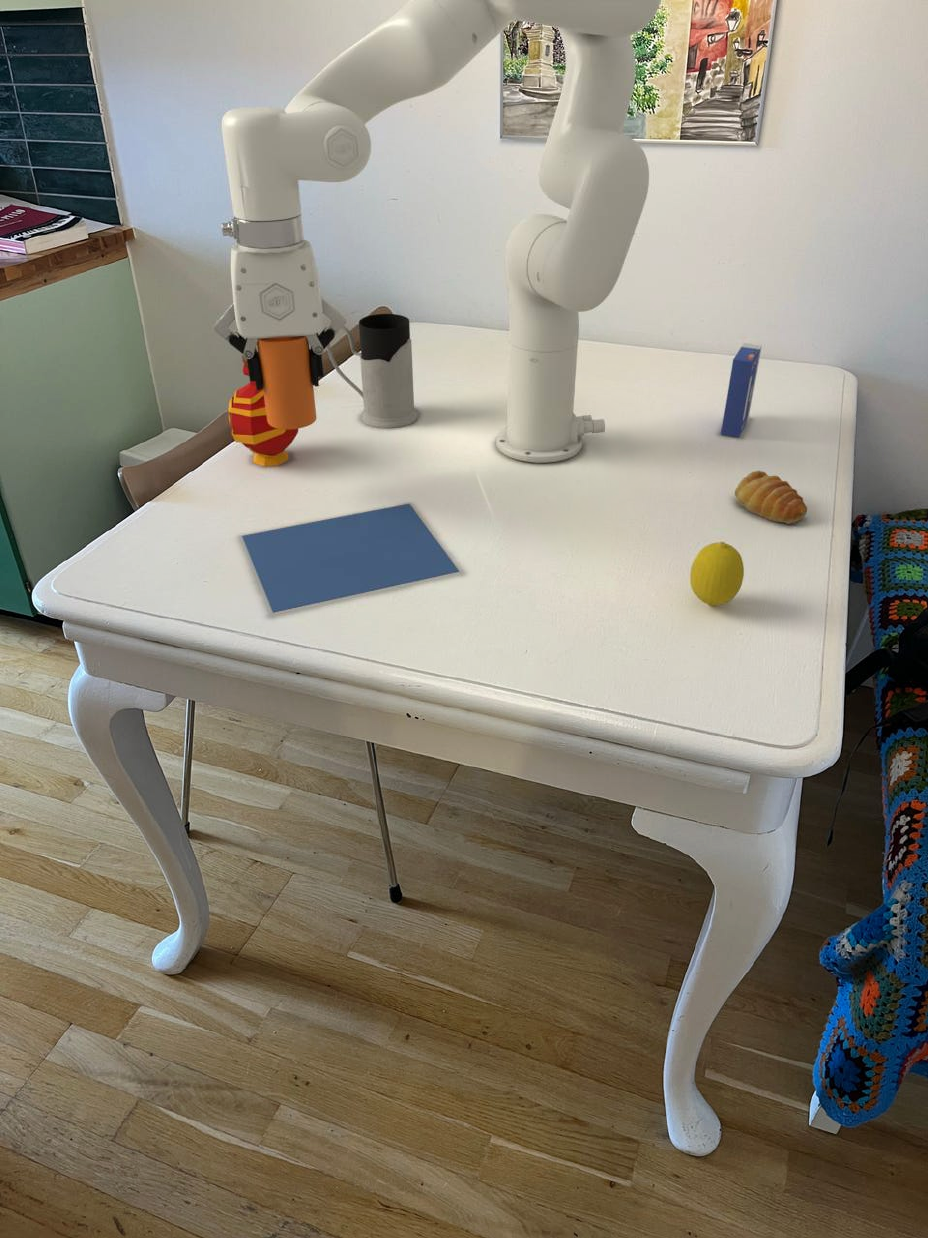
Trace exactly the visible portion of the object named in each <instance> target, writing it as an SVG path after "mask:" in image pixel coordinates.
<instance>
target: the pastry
mask: <svg viewBox="0 0 928 1238" xmlns="http://www.w3.org/2000/svg"><path fill="white" fill-rule="evenodd" d="M734 497H735V499H736V500H737V502H738V503H739V506H743V507H744V508H745V509H746V511H749V512H751V513H752V514H755V515H758V516H760V518H765V519H766V520H769V521H771V522H776V523H784V524H788V525H789V524H794V523H796V522H798V521H802V520H803V519H804V517H805V516H806V514H807V513H808V506H807V505H806V503H805V501H804V498H803V497H802V496H801V495H800V494H799V493H798V491H797V489H795V488H793V487H792V486H791V485H790V484H789V482H788V481H787V480H782V479H781V478H780V476H778V475H768V474H767V472H766V471H761V470H755V471H752V472H750V473H749V474H747V475H746V476H745V477H743V478H742V479H741V480H740V482H739V483H738V485H737V486H736V488H735V489H734Z"/></svg>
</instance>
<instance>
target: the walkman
mask: <svg viewBox="0 0 928 1238" xmlns="http://www.w3.org/2000/svg"><path fill="white" fill-rule="evenodd" d="M761 351H762V345H760V344H754V343H748V342H743V344H741V346H740V348H739V350H738V352H737V353H736V354H735V356H734V357H733V359H732V364H731V369H730V370H731V371H730V375H729V382H728V388H727V393H726V394H727V395H726V400H725V407H724V413H723V419H722V424H721V431H720V435H721V436H727V437H732V438H738V439H739V438H740V437H741V434H742V433H743V431H744V429H745V427H746V426H747V424H748V421H749V418H750V413H751V408H752V407H751V406H752V402H753V397H754V389H755V385H756V380H757V374H758V368H759V363H760V358H761Z"/></svg>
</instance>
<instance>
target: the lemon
mask: <svg viewBox="0 0 928 1238" xmlns="http://www.w3.org/2000/svg"><path fill="white" fill-rule="evenodd" d="M744 574H745V570H744V562H743V558H742V556H741V554H740V552H739V551H738V550H737V549H736V548H735V547H734V546H733V545H730V544H728V543H726V542H724V541H719V542H712V543H709V544H708V545H705V546H704V547H702V548H701V549H700V550H699V551H698V553H697V554H696V556H695V558H694V560H693V561H692V565H691V569H690V577H689V582H690V586H691V589H692V592H693V594H694V595H695V596H696V598H698V599H699V601H701V602H703V603H705V604H707V605H708V606H710V607H715V606H719V605H724V604H727V603H729V602H730V601H732V600H733V599H735V597H736V596H737V594H738V593H739V592H740V590H741V588H742V584H743V581H744V576H745V575H744Z"/></svg>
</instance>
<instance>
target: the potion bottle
mask: <svg viewBox="0 0 928 1238" xmlns="http://www.w3.org/2000/svg"><path fill="white" fill-rule="evenodd" d="M241 360H242V362H243V363H242V364H243V366H242V373H243V375H244V376H248V377H249V370H248V363H247V358H245V357H244V355H243V354H242V356H241ZM227 413H228V420H229V426H230V428H231V436H232V438H233V440H234V442H235V443H238V444H239V443H241V444H242V446H244V447H245V448H246V449H249V452H251V453H253V454H254V455H253V464H256V465H259V466H262V467H273V466H275V467H276V466H280V465H282V464H284V463H285V462H287V461H289V453H288V452H287V451H286V450H287V448H288V447H289V446H290V445H291V444H292V443H293V442H294V440H295V438H296V437H297V435H298V434H299V429H278V428H275V427H272V426H270V425H269V424H268V422H267V414H266V407H265V400H264V392H263V389H261V390H257V388H256V381H253V382H250V381H249V383H247V384H245V385H244V386H241V387H239V388H238V389H236V390H235V392H234V395H233V396H230V399H229V403H228V411H227Z"/></svg>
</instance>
